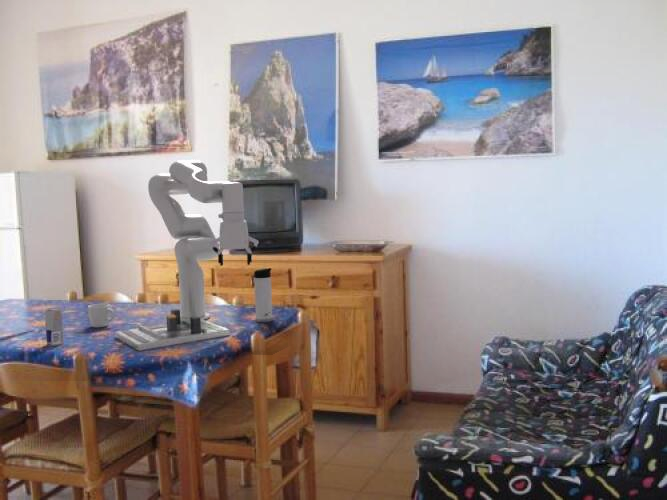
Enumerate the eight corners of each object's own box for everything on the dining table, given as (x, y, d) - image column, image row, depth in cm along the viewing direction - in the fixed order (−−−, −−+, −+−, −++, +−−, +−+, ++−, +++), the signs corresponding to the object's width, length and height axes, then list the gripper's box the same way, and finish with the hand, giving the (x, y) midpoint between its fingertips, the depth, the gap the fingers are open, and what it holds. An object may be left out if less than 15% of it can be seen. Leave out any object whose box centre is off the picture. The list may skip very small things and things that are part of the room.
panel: (115, 337, 236) (114, 316, 236) (201, 324, 254) (200, 304, 254) (138, 350, 217) (137, 328, 216) (229, 335, 235) (228, 314, 234)
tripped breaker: (167, 329, 236) (166, 315, 235) (173, 328, 237) (172, 314, 237) (170, 331, 233) (169, 316, 233) (176, 329, 235) (176, 315, 234)
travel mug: (270, 322, 254) (268, 269, 251) (253, 322, 255) (251, 269, 253) (275, 319, 260) (273, 267, 257) (258, 318, 261) (256, 267, 259)
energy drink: (50, 342, 231) (47, 308, 230) (66, 341, 232) (63, 307, 231) (44, 346, 226) (42, 311, 225) (61, 345, 227) (58, 310, 225)
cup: (121, 324, 258) (120, 304, 257) (108, 329, 250) (107, 308, 249) (98, 323, 261) (96, 303, 260) (84, 328, 254) (82, 307, 253)
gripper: (207, 218, 237) (209, 267, 239) (257, 217, 238) (258, 265, 240) (210, 217, 244) (212, 264, 246) (258, 215, 245) (260, 262, 247)
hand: (235, 264), depth 243 cm, fingers open, 9 cm apart
